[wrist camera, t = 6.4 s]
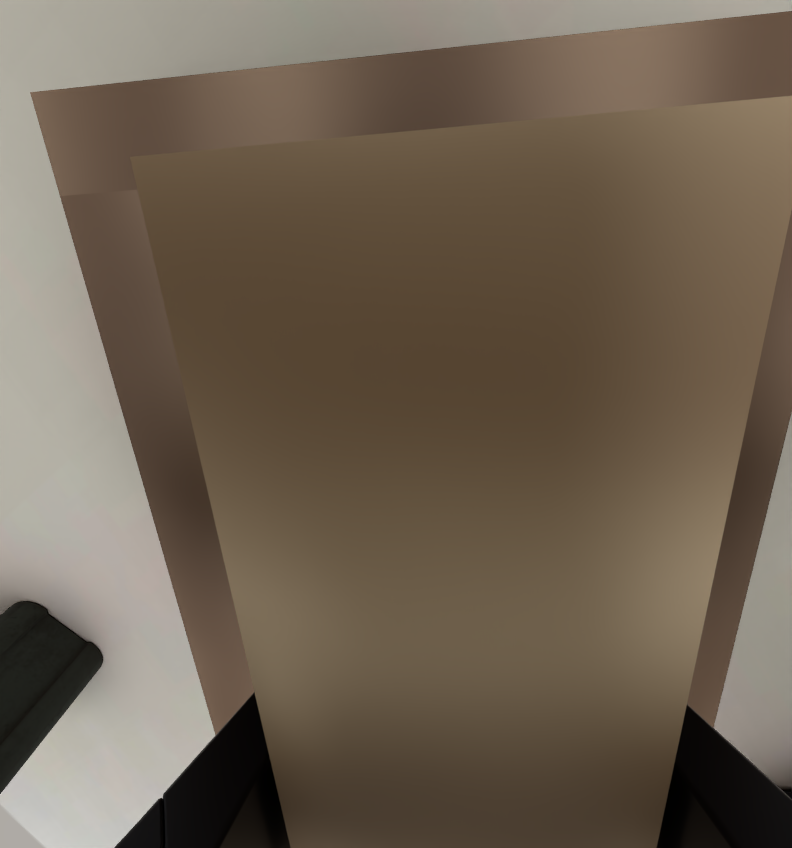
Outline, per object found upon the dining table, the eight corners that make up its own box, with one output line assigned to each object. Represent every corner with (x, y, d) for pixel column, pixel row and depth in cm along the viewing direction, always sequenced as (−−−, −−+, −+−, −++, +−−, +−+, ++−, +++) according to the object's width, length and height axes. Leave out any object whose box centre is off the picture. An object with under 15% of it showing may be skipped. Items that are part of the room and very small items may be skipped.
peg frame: (725, 91, 13) (893, 0, 8) (636, 669, 21) (697, 791, 16) (159, 145, 14) (30, 92, 10) (270, 667, 22) (228, 779, 17)
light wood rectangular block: (550, 841, 12) (604, 1096, 9) (368, 834, 13) (343, 1074, 9) (605, 181, 7) (814, 93, 3) (282, 207, 7) (129, 156, 4)
